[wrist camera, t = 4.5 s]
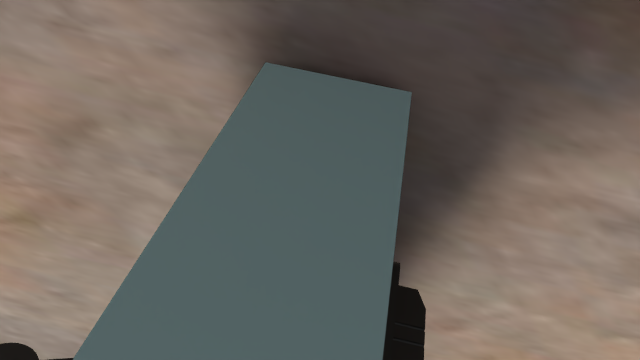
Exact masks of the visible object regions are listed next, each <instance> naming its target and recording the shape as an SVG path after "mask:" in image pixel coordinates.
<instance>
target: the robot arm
mask: <svg viewBox="0 0 640 360" xmlns="http://www.w3.org/2000/svg"><path fill="white" fill-rule="evenodd" d="M399 273H400V263H398V262H393V268H392V277H391V287H390V296H389V305H388V314H387V323H386V332H385V341H384V350H383V359H382V360H424V340H425V332H424V330H425V314H426V308H425V306H424V304H423V301H422V299H421V297H420V294H419V292H418V290H416V289H412V288H408V287H403V286H399V285H398V284H399ZM0 360H39V358H38V356H37V354H36V353H35V351H34V350H33V349H31V348H30V347H28V346H26V345H23V344H19V343H4V344H0ZM49 360H73V358H66V359H49Z"/></svg>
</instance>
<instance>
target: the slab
mask: <svg viewBox="0 0 640 360" xmlns="http://www.w3.org/2000/svg"><path fill="white" fill-rule="evenodd" d="M411 95H412V92H408V91H403V90H399V89H394V88H389V87H384V86H379V85H374V84H369V83H364V82H359V81H355V80H350V79H345V78H340V77H335V76H330V75H325V74H320V73H315V72H311V71H306V70H301V69H296V68H291V67H286V66H281V65H276V64H271V63H267V62H266V63H265V64H264V66H263V67H262V69H261V70H260V72H259V73H258V75H257V76H256V78H255V79H254V81H253V83H252V84H251V86H250V87H249V89H248V90H247V92H246V93H245V95H244V96H243V98H242V100H241V101H240V103H239V104H238V106H237V107H236V109H235V110H234V112H233V113H232V115H231V116H230V118H229V120H228V121H227V123H226V124H225V126H224V127H223V129H222V130H221V132H220V133H219V135H218V136H217V138H216V140H215V141H214V143H213V144H212V146H211V147H210V149H209V150H208V152H207V153H206V155H205V157H204V158H203V160H202V161H201V163H200V164H199V166H198V167H197V169H196V170H195V172H194V173H193V175H192V177H191V178H190V180H189V181H188V183H187V184H186V186H185V187H184V189H183V190H182V192H181V194H180V195H179V197H178V198H177V200H176V201H175V203H174V204H173V206H172V207H171V209H170V210H169V212H168V214H167V215H166V217H165V218H164V220H163V221H162V223H161V224H160V226H159V227H158V229H157V231H156V232H155V234H154V235H153V237H152V238H151V240H150V241H149V243H148V244H147V246H146V247H145V249H144V251H143V252H142V254H141V255H140V257H139V258H138V260H137V261H136V263H135V264H134V266H133V267H132V269H131V271H130V272H129V274H128V275H127V277H126V278H125V280H124V281H123V283H122V284H121V286H120V288H119V289H118V291H117V292H116V294H115V295H114V297H113V298H112V300H111V301H110V303H109V304H108V306H107V308H106V309H105V311H104V312H103V314H102V315H101V317H100V318H99V320H98V321H97V323H96V325H95V326H94V328H93V329H92V331H91V332H90V334H89V335H88V337H87V338H86V340H85V341H84V343H83V345H82V346H81V348H80V349H79V351H78V352H77V354H76V355H75V357H74V358H73V360H382V359H383V350H384V341H385V332H386V323H387V314H388V305H389V296H390V287H391V277H392V268H393V259H394V250H395V241H396V232H397V223H398V214H399V205H400V195H401V186H402V177H403V168H404V159H405V150H406V141H407V132H408V122H409V113H410V104H411Z"/></svg>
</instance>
